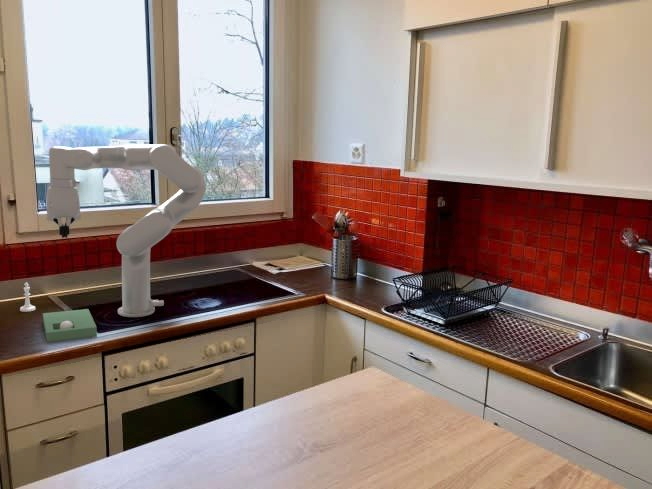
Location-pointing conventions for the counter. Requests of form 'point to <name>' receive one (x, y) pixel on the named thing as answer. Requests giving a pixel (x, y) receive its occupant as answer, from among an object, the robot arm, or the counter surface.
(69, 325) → the ball
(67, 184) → the robot arm
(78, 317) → the green
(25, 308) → the chess piece
